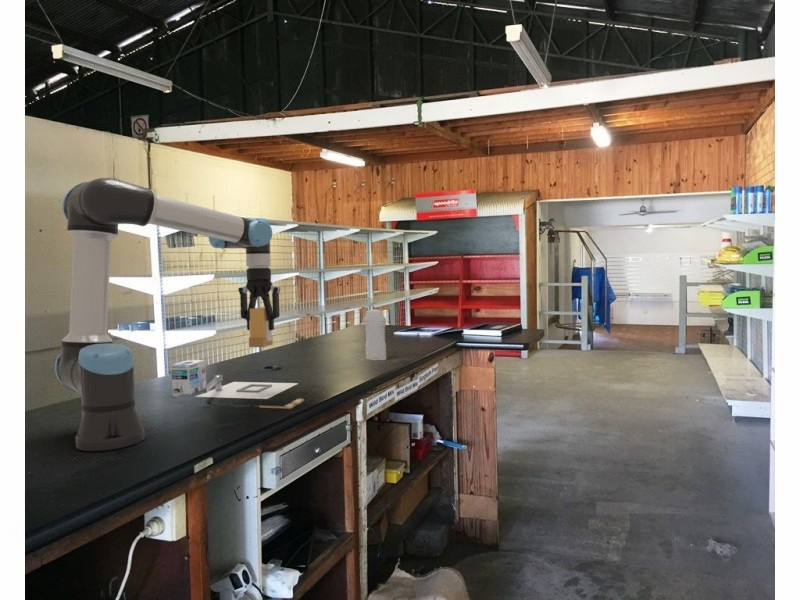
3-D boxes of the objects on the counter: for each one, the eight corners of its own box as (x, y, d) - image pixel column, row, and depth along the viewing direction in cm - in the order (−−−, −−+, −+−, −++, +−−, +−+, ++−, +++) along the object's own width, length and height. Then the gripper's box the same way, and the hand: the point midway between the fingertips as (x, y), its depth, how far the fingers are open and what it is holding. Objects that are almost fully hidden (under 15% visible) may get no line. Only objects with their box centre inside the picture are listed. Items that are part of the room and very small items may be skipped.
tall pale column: (389, 359, 262) (387, 309, 260) (385, 360, 258) (383, 309, 256) (367, 358, 266) (365, 308, 264) (363, 360, 262) (361, 309, 261)
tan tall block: (263, 347, 188) (262, 309, 188) (249, 347, 189) (247, 309, 189) (272, 344, 195) (271, 307, 194) (258, 344, 196) (257, 307, 195)
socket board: (267, 402, 185) (266, 388, 185) (195, 399, 191) (194, 387, 191) (298, 386, 208) (298, 374, 208) (233, 384, 214) (233, 373, 214)
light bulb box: (190, 397, 195) (189, 364, 194) (171, 397, 196) (170, 364, 195) (207, 390, 205) (206, 359, 204) (189, 390, 206) (188, 359, 206)
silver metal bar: (199, 393, 179) (199, 388, 179) (214, 379, 201) (214, 375, 201) (210, 393, 180) (209, 387, 179) (223, 379, 201) (223, 374, 201)
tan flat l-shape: (290, 408, 175) (290, 406, 175) (259, 407, 178) (259, 405, 178) (304, 400, 185) (304, 398, 185) (274, 399, 188) (274, 397, 188)
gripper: (289, 266, 192) (291, 339, 194) (238, 268, 196) (240, 339, 197) (280, 266, 185) (282, 342, 186) (227, 268, 189) (229, 341, 190)
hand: (260, 340), depth 192 cm, fingers closed on tan tall block, 5 cm apart
